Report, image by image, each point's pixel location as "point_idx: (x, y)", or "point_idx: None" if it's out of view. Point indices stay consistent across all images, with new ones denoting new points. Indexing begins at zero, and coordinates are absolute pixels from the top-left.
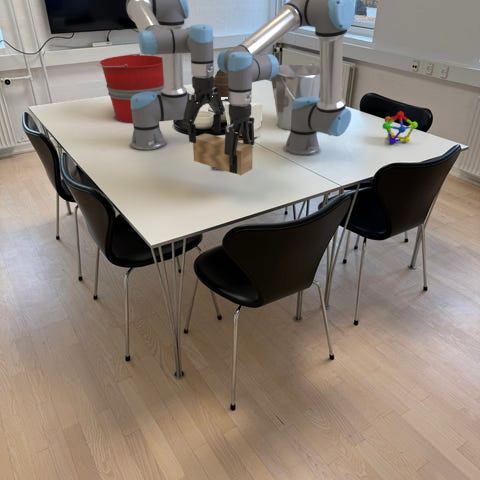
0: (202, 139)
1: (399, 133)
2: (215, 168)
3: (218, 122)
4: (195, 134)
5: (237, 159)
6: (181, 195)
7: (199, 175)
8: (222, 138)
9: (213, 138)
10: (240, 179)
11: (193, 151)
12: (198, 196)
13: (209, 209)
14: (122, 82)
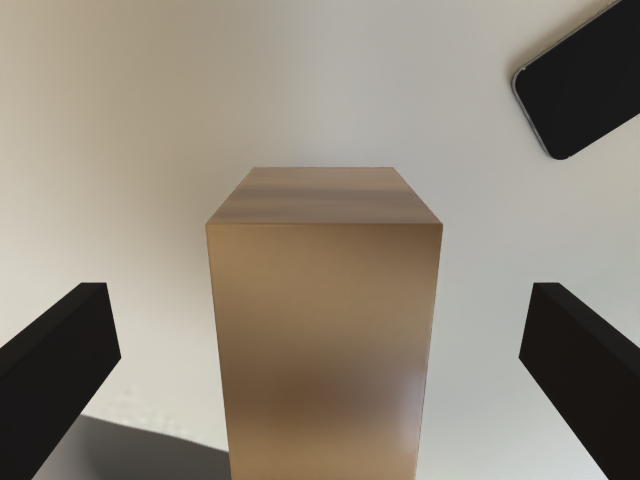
0: (246, 339)
1: None
2: (515, 91)
3: (603, 454)
4: (58, 432)
5: None
6: (148, 163)
7: (395, 63)
8: (398, 457)
9: (344, 401)
10: (469, 271)
11: (239, 185)
12: (199, 234)
13: (150, 339)
14: None
